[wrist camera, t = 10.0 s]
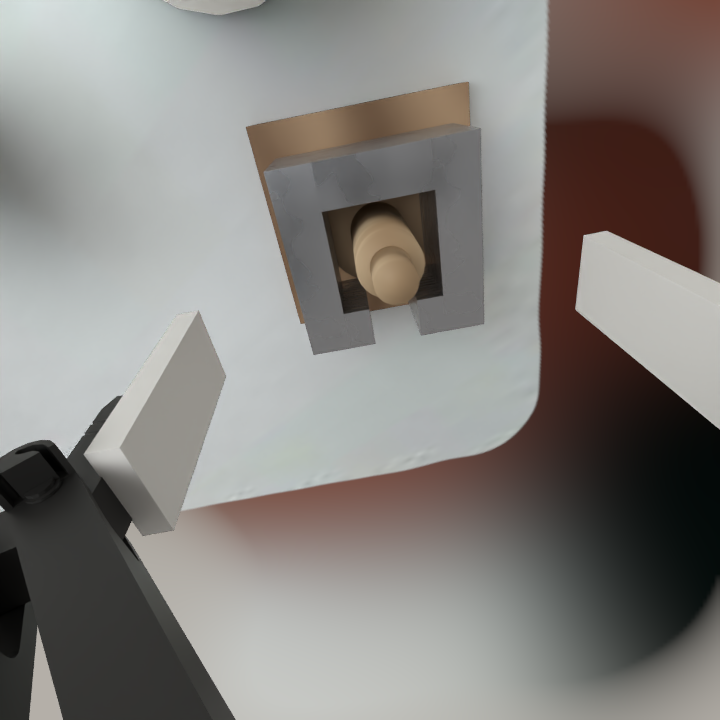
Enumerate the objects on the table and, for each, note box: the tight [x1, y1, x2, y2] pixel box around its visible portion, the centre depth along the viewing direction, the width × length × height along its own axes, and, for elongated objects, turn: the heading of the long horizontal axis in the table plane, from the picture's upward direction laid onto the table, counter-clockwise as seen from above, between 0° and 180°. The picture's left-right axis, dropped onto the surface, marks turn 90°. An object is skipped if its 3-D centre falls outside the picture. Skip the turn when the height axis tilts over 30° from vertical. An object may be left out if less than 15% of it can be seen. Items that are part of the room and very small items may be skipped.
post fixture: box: [246, 82, 470, 324], centre depth 22 cm, size 12×12×12 cm
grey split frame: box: [264, 123, 484, 355], centre depth 22 cm, size 9×9×4 cm
